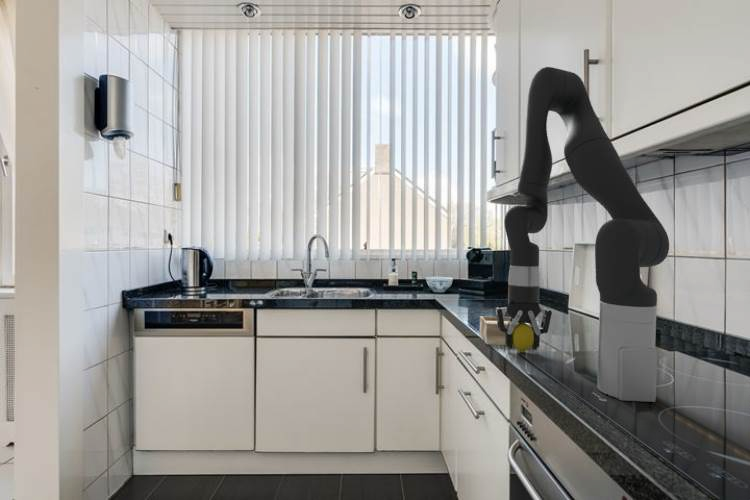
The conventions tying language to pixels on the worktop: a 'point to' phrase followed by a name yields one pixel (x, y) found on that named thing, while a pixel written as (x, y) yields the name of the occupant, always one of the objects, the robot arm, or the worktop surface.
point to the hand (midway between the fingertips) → (522, 348)
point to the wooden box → (492, 330)
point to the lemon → (523, 337)
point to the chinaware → (439, 283)
